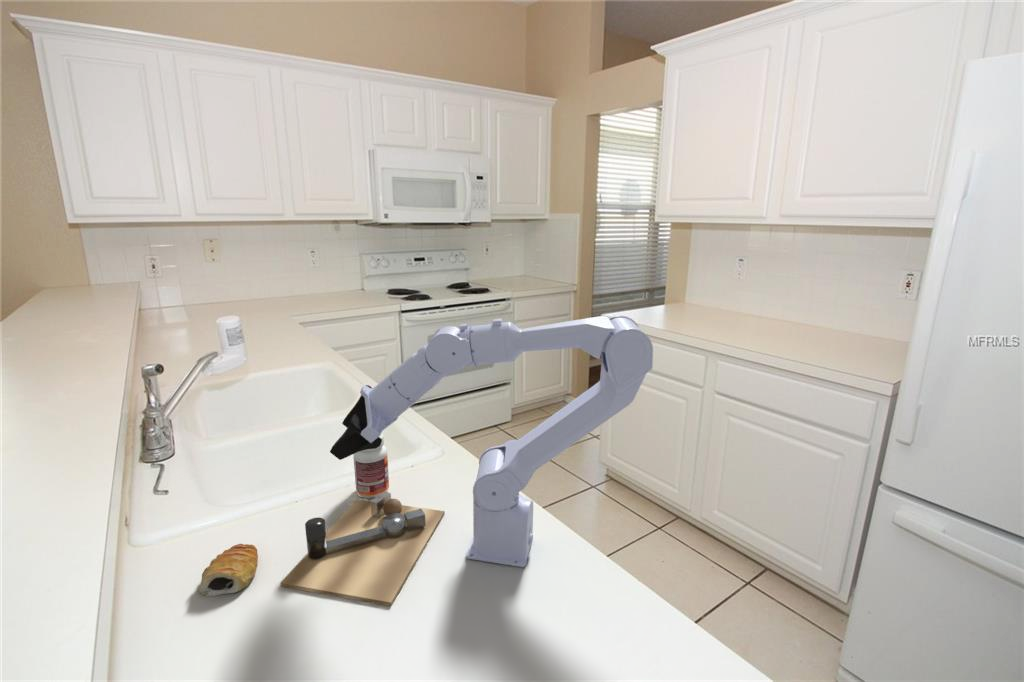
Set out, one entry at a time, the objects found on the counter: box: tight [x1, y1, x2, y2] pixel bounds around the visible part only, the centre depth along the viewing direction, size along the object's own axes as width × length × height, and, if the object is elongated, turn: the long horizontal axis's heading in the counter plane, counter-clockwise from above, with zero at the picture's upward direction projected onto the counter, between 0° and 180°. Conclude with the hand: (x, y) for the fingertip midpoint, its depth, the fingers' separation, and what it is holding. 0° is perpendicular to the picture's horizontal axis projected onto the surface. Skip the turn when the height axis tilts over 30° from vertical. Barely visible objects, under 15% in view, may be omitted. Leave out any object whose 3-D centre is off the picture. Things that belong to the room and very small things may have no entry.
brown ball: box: [383, 498, 403, 516], centre depth 87 cm, size 3×3×3 cm
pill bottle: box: [353, 432, 390, 499], centre depth 95 cm, size 6×6×11 cm
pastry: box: [197, 543, 259, 597], centre depth 74 cm, size 9×7×4 cm
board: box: [280, 498, 445, 607], centre depth 80 cm, size 17×22×1 cm
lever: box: [304, 509, 426, 559], centre depth 80 cm, size 18×4×5 cm, turn 118°
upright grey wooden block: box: [370, 491, 392, 518], centre depth 88 cm, size 4×1×3 cm, turn 153°
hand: (341, 440), depth 77 cm, fingers open, 7 cm apart
